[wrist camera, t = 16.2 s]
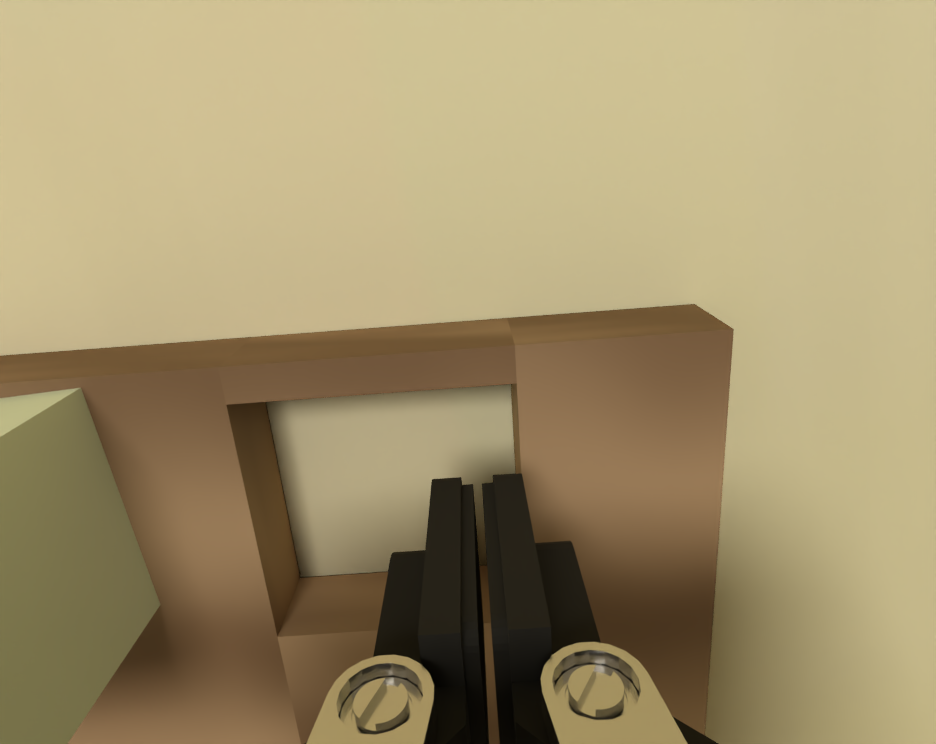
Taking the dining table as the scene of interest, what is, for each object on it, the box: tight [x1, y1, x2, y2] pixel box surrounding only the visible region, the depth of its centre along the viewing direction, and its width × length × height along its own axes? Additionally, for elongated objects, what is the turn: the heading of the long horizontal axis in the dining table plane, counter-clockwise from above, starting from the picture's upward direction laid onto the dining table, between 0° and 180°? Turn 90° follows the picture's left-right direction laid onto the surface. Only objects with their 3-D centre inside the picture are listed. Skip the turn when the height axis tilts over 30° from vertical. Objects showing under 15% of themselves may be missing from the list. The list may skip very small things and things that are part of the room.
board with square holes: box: [0, 304, 733, 744], centre depth 15 cm, size 14×25×2 cm, turn 94°
